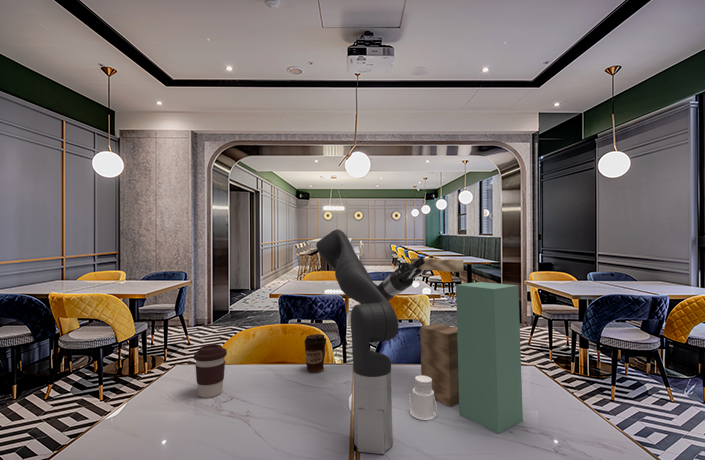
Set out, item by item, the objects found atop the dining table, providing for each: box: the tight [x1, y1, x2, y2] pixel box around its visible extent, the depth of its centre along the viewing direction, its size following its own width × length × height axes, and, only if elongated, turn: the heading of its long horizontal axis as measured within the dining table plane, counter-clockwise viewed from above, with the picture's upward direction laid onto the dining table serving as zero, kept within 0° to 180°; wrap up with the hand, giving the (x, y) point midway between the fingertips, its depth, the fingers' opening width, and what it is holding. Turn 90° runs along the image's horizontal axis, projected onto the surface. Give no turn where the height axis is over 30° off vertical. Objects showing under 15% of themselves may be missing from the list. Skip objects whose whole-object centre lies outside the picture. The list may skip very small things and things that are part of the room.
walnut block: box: [419, 322, 459, 408], centre depth 109 cm, size 12×8×21 cm
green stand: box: [455, 281, 524, 434], centre depth 96 cm, size 12×11×36 cm
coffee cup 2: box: [304, 333, 327, 374], centre depth 133 cm, size 9×8×13 cm
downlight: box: [408, 375, 438, 421], centre depth 97 cm, size 8×7×10 cm
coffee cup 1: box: [193, 343, 228, 399], centre depth 113 cm, size 10×10×15 cm
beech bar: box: [410, 257, 464, 273], centre depth 112 cm, size 19×4×4 cm, turn 34°
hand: (427, 259), depth 115 cm, fingers closed on beech bar, 3 cm apart
